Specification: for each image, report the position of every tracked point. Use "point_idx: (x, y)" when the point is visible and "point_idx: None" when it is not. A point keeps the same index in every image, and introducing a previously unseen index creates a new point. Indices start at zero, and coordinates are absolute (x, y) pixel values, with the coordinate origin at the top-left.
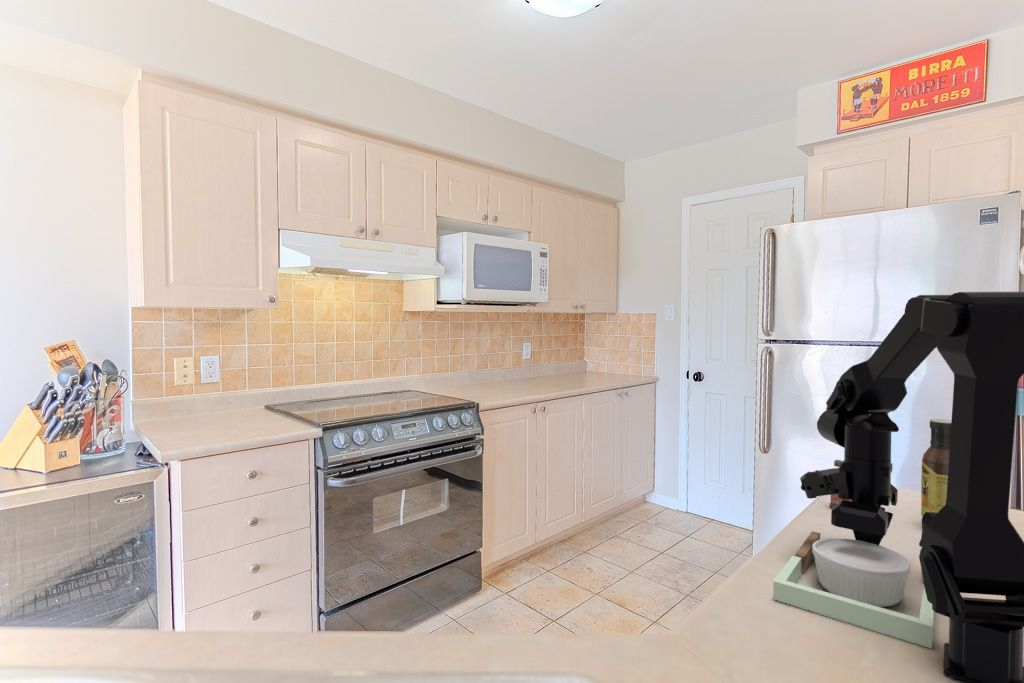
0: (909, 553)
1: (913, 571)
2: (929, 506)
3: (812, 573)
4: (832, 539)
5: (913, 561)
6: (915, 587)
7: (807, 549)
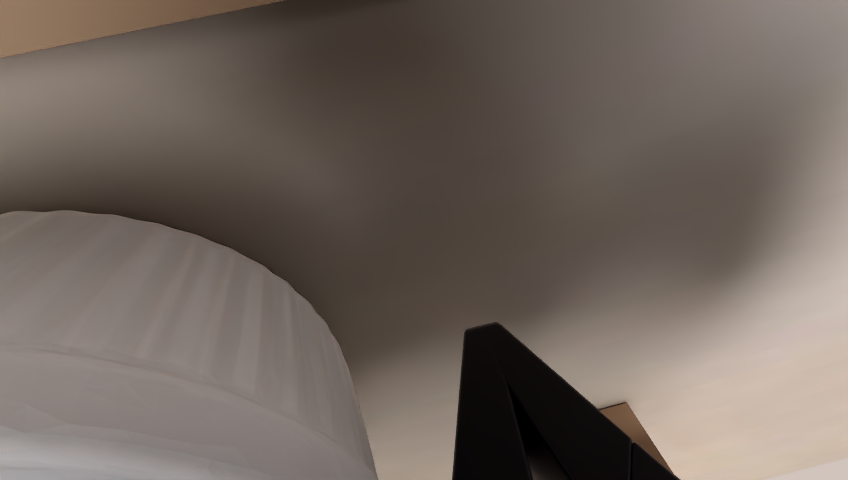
0: (845, 305)
1: (619, 381)
2: None
3: (52, 105)
4: (116, 473)
5: (744, 344)
6: (442, 437)
7: (67, 19)
